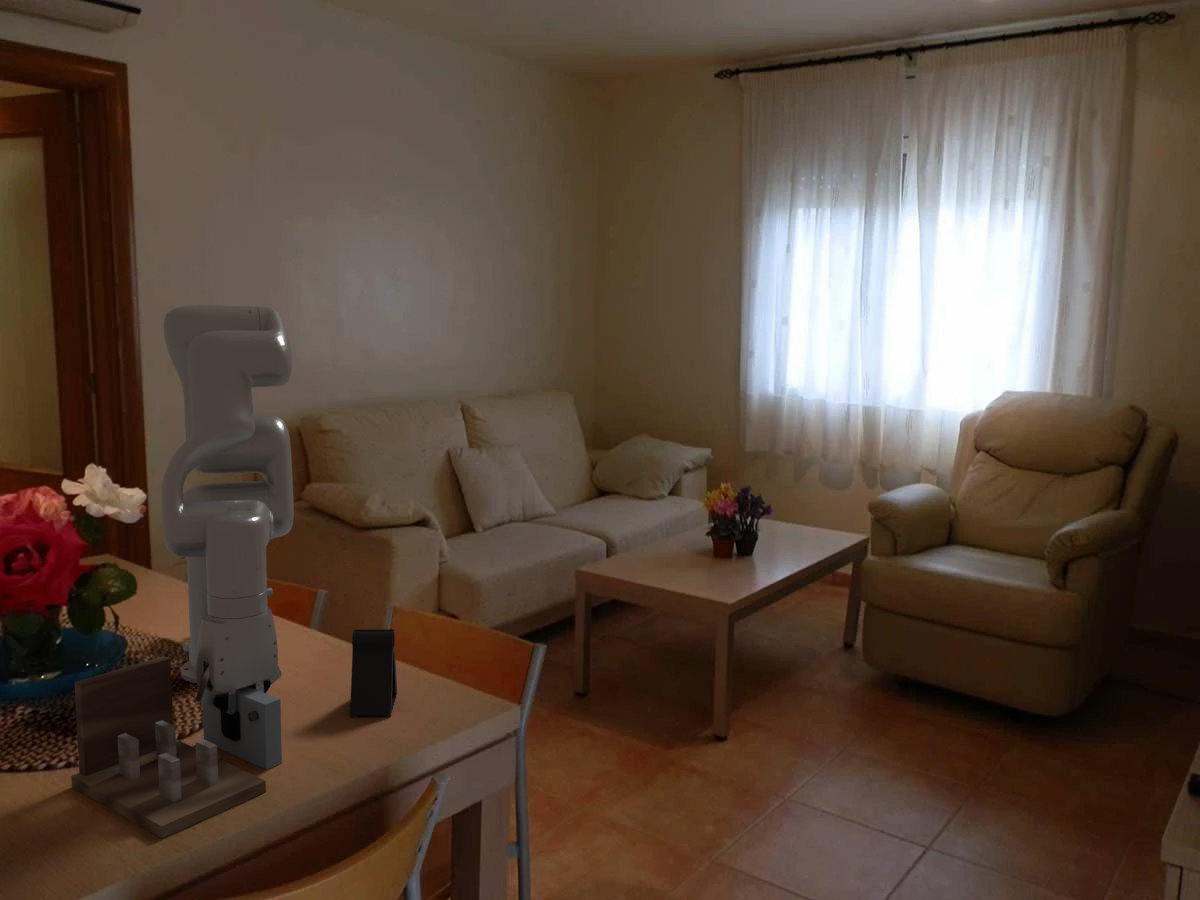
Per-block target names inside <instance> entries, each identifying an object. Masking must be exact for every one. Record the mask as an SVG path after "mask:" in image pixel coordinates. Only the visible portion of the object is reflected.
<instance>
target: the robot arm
mask: <svg viewBox="0 0 1200 900" xmlns="http://www.w3.org/2000/svg"><path fill="white" fill-rule="evenodd" d="M162 326H163V335H164V341H165V345H166V348H167V351H168V355H169V357H170V360H171V361H172V364H173V366H174V369H175V371H176V372H177V375H178V378H179V379H180V384H181V386H182V392H183V399H184V400H183V401H184V402H183V403H184V405H183V406H184V425H185V426H184V427H185V428H184V429H185V442H184V443H183V444H181V446H180V447H179V448H178V449H177V450H176V451H175V453H174V454H173V456H172V457H171V459H170V460H169V463H168V464H167V466H166V469H165V472H164V475H163V479H162V483H161V512H162V513H161V515H162V516H161V517H162V529H163V530H162V533H163V539H164V544H165V546H166V549H167V550H168V552H169V553H170V554H172V555H173V556H175V557H177V558H185V559H186V569H187V571H186V572H187V590H188V592H187V593H188V595H187V597H188V615H189V619H188V620H189V642H184V643H183V645H182V649H183V650H184V651H186V652H188V658H189V660H188V661H186V662H185V663H184V664H183V665H182V666H181V667H180V676H181V678H182V680H184V681H186V682H188V681H189V682H188V683H191V682H192V683H191V684H195V683H197V684H196V685H197V686H198V687H199V688H198V690H197V692H196V695H195V701H196V702H197V703H200V704H202V705H203V704H208V705H213V706H215V707H216V708H217V709H218V710H220V711H221V731H222V733H223V736H224V737H226V738H228V739H231V740H233V741H235V742H236V741H238V740H240V714H239V712H237V711H236V690H239V689H242V688H245V687H250V688H253V689H256V690H258V691H261V692H263V693H266V694H267V693H268V691H269V690H270V688H271V685H273V684H274V683H275V682H277V681H278V680H279V679H280V678H281V676H282V674H283V673H282V670H281V669H280V667H279V648H278V638H277V637H278V636H277V630H276V625H275V620H274V617H273V613H272V609H271V608H270V607H268V603H269V602H268V599H269V598H271V597H273V596H274V590H273V588H272V587H270V586H269V587H268V581H267V577H268V576H267V546H268V544H269V542H270V540H272V539H275V538H279V537H283V536H286V535H288V534H289V533H290V532H291V530H292V528H293V526H294V525H293V524H294V518H295V509H294V508H295V507H294V505H295V503H294V485H293V466H292V465H293V464H292V449H291V439H290V432H289V429H288V426H287V424H286V422H284V420H283V419H282V418H280V417H279V416H276V415H270V414H254V406H253V404H254V403H253V402H254V401H253V395H252V388H266V387H267V388H278V387H284V386H286V384H287V383H288V382H289V381H290V378H291V376H292V370H293V355H292V349H291V345H290V340H289V337H288V333H287V331H286V329H285V325H284V323H283V320H282V318H281V315H280V314H279V312H278V311H277V310H275V309H274V308H272V307H267V306H253V305H252V306H250V305H249V306H246V305H244V306H243V305H221V304H220V305H219V304H218V305H217V304H216V305H212V304H204V305H203V304H194V305H193V304H192V305H184V306H177V307H175V308H172V309H171V310H169V311H168V312H167V313H166V315H165V316H164V319H163V325H162ZM192 471H194V472H197V473H199V474H203V475H229V474H230V475H232V474H234V475H235V474H255V473H257V474H260V475H261V476H262V477H263V479H264V480H256V481H255V480H254V481H253V480H251V481H228V482H227V481H226V482H223V481H222V482H209V483H203V484H202V483H201V484H199V485H195V486H193V487H190V488H188V489H186V491H184V484H185V482H186V479H187V477H188V475H189V474H190V473H191V472H192ZM183 491H184V492H183ZM213 689H214V692H215V693H216V695H214V694H212V690H213Z"/></svg>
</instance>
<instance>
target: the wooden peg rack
mask: <svg viewBox="0 0 1200 900" xmlns="http://www.w3.org/2000/svg"><path fill="white" fill-rule="evenodd" d="M171 662H172V661H171V658H170V657H167V656H165V655H163V656H160V657H156V658H153V659H149V660H146V661H142V662H140V663H135V664H132V665H129V666H125V667H122V668H119V669H115V670H112V671H108V672H104V673H102V674H98V675H94V676H91V677H87V678H83V679H80V680H76V681H74V695H75V696H74V698H75V717H76V718H75V719H76V720H75V721H76V733H77V735H76V737H77V749H78V750H77V751H78V753H77V754H78V773H75V774H72V775H71V787H72V789H75V790H76V791H78V792H80V793H81V794H83V795H85V796H87V797H88V798H90V799H93V801H96V802H97V803H99V804H101V805H102V806H105V807H107V808H108V809H110V810H111V811H114V812H115V813H117V814H118V815H120V816H122V817H124V818H125V819H127V820H128V821H131V822H132V821H133V822H132V823H134V824H136V825H138V826H139V827H141V828H143V829H144V830H147V831H148V832H150V833H151V834H154V835H155V836H157V837H158V838H159V839H160V838H161V839H164V838H167V837H168V836H171V835H174V834H175V833H177V832H180V831H183V830H184V829H187V828H189V827H190V826H194V825H196V824H197V823H198V824H199V823H200V822H202V821H204V820H207V819H208V818H209V819H210V818H211V817H213V816H215V815H218V814H219V813H222V812H224V811H227V810H228V809H231V808H234V807H235V806H237V805H240V804H242V803H245V802H247V801H250V799H253V798H255V797H257V796H261V795H262V794H264V793H266V792H267V789H266V787H267V786H266V785H267V784H266V780H265V779H263V778H261V777H260V776H259V777H258V776H256V775H254V774H252V773H250V772H248V771H246V770H243V769H241V768H239V767H238V766H235V765H233V764H231V763H228V762H227V761H225V760H222V759H220V758H218V747H217V745H215V744H213V743H211V742H209V741H206V740H204V738H202V739H198V740H196V741H195V747H194V746H193V745H190V744H188V743H185V742H184V741H181V740H178V739H177V738H176V736H177V733H176V726H175V725H174V717H173V716H174V715H173V692H172V690H173V689H172V669H171V667H172V665H171Z"/></svg>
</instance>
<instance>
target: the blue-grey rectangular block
mask: <svg viewBox="0 0 1200 900" xmlns="http://www.w3.org/2000/svg"><path fill="white" fill-rule="evenodd" d="M212 694H214V695H216V693H215V692H214V689H213V690H212ZM236 711H237V712H239V714H240V740H238V741H236V742H235V741H233V740H231V739H228V738H226V737H224V736H223V733H222V731H221V711H220V710H218V709H217V708H216V707H215V706H213V705H208V704H202V720H203V721H202V724H203V726H202V727H203V728H202V729H203V739H204V740H206V741H209V742H211V743H213V744H215V745H217V749H221V750H223V751H224V752H226V753H229V754H232V755H234V756H236V757H237V758H240V759H242V760H244V761H246V762H249V763H251V764H253V765H256V766H258V767H260V768H262V769H264V770H266V771H267V770H269V769H272V768H274V767H276V766H279V765H282V763H283V760H282V759H283V757H282V751H283V749H282V717H281V716H282V711H281V698H279V697H276V696H273V695H271V694H268V693H267V692H266V693H263V692H261V691H258V690H256V689H253V688H250V687H245V688H242V689H239V690H236Z"/></svg>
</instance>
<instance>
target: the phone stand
mask: <svg viewBox="0 0 1200 900" xmlns="http://www.w3.org/2000/svg"><path fill="white" fill-rule="evenodd" d="M395 633H396V632H395V629H393V628H392V629H354V630H353V632H352V637H351V638H352V640H351V642H352V644H351V645H352V656H351V657H352V659H351V679H350V681H351V682H350V705H349V706H350V707H349V717H350V718H391V717H392V714H391V713H393V709H394V707H395V704H394V703H396V700H395V699H397V697H396V695H397V696H398V686H397V684H398V683H397V682H398V681H397V667H396V665H397V664H396V661H397V660H396V648H395V647H396V645H395V641H396V640H395V637H396V635H395ZM393 706H394V707H393Z"/></svg>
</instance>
